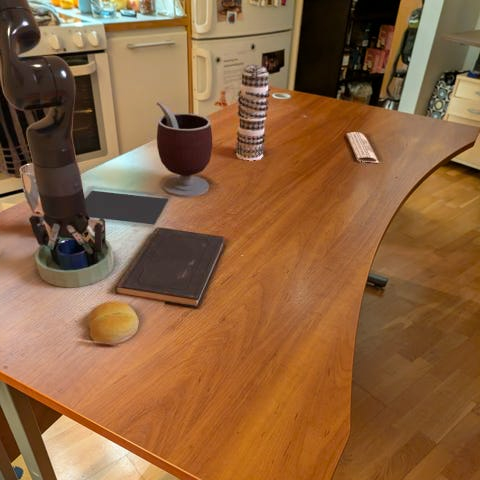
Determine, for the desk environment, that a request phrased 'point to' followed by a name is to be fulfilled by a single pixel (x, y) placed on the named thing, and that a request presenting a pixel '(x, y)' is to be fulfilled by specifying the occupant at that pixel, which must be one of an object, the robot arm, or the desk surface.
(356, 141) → the newspaper
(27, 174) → the beer glass
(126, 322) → the bread roll
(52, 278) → the big bowl
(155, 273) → the hardcover book
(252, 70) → the patterned cylindrical tower
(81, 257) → the small cup
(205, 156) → the mate gourd
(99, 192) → the mat
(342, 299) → the desk surface
